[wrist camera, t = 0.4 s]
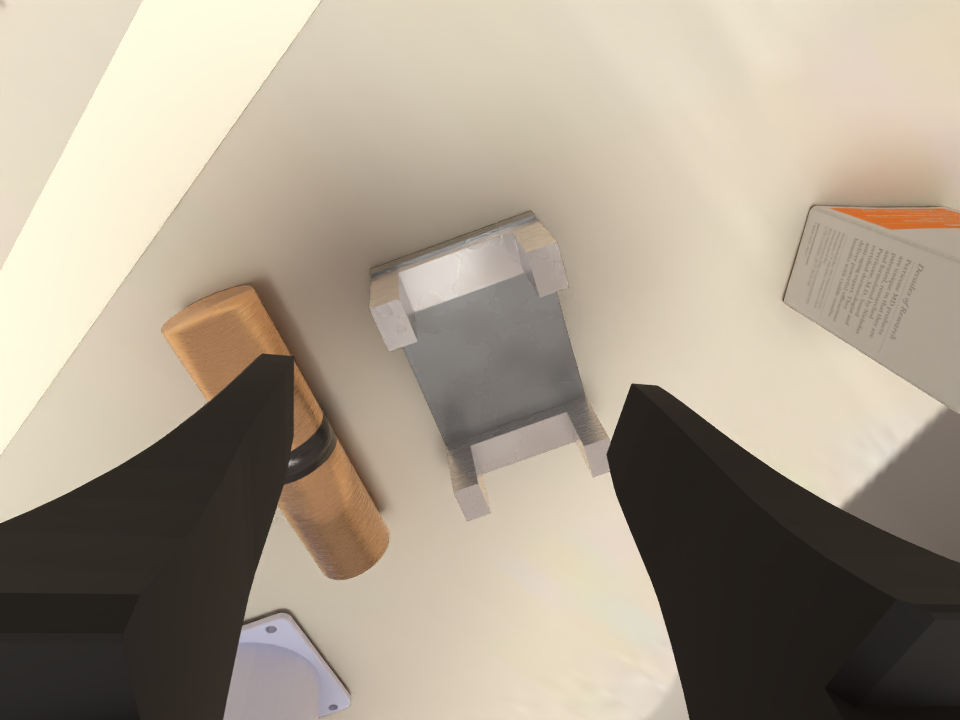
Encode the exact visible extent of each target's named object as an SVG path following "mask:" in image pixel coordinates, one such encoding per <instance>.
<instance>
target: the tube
mask: <svg viewBox="0 0 960 720" xmlns="http://www.w3.org/2000/svg"><path fill="white" fill-rule="evenodd" d="M161 332H162V334H163V335H164V337H165V338H166V340H167V341H168V343H169V344H170V346H171V347H172V349H173V350H174V352H175V353H176V355H177V356H178V358H179V359H180V361H181V362H182V364H183V365H184V367H185V368H186V370H187V371H188V373H189V374H190V376H191V377H192V379H193V380H194V382H195V383H196V385H197V386H198V387H199V389H200V390H201V392H202V393H203V395H204V396H205V398H206V399H207V401H208V402H209V401H210V400H211V399H212V398H214V397H215V396H216V395H217V394H218V393H219V392H221V391H222V390H223V389H224V388H225V387H226V386H227V385H228V384H229V383H230V382H232V381H233V380H234V379H235V378H236V377H237V376H238V375H239V374H240V373H241V372H242V371H243V370H244V369H245V368H246V367H247V366H248V365H249V364H251V363H252V362H253V361H254V360H255V359H256V358H257V357H258V356H260V355H261V354H262V353H263V354H275V355H287V356H291V354H290V352H289V351H288V349H287V347H286V345H285V344H284V342H283V340H282V338H281V336H280V335H279V333H278V331H277V329H276V327H275V326H274V324H273V322H272V320H271V318H270V317H269V315H268V313H267V311H266V309H265V308H264V306H263V304H262V302H261V301H260V299H259V297H258V295H257V293H256V292H255V290H254V288H253V287H252V286H248V285H245V286H237V287H233V288H229V289H226V290H223V291H220V292H217V293H215V294H212V295H210V296H208V297H206V298H203V299H201V300H199V301H197V302H195V303H193V304H192V305H190V306H188V307H186V308H185V309H183V310H182V311H180V312H178V313H177V314H176V315H174V316H173V317H172V318H170V319H169V320H168V321H167V322H166V323H165V324H164V325H163V327H162V329H161ZM278 507H279V508H280V510H281V511H282V513H283V514H284V516H285V517H286V519H287V520H288V522H289V523H290V525H291V526H292V528H293V529H294V531H295V532H296V534H297V535H298V537H299V538H300V539H301V541H302V542H303V544H304V545H305V547H306V548H307V550H308V551H309V553H310V554H311V556H312V557H313V559H314V560H315V562H316V563H317V565H318V566H319V568H320V569H321V571H322V572H323V574H324V575H325V576H327V577H328V578H331V579H335V580H344V579H349V578H353V577H355V576H358V575H360V574H362V573H363V572H365V571H367V570H368V569H370V568H371V567H372V566H373V565H374V564H375V563H376V562H377V561H378V560H379V559H380V558H381V557H382V555H383V554H384V552H385V551H386V549H387V546H388V543H389V530H388V528H387V526H386V525H385V523H384V521H383V519H382V517H381V516H380V514H379V512H378V510H377V508H376V507H375V505H374V503H373V501H372V499H371V498H370V496H369V494H368V492H367V490H366V489H365V487H364V485H363V483H362V481H361V480H360V478H359V476H358V474H357V473H356V471H355V469H354V467H353V465H352V464H351V462H350V460H349V458H348V456H347V455H346V453H345V451H344V449H343V447H342V446H341V444H340V442H339V440H338V438H337V436H336V434H335V432H334V430H333V428H332V427H331V425H330V423H329V421H328V419H327V418H326V416H325V414H324V412H323V411H322V409H321V408H320V406H319V404H318V403H317V401H316V399H315V397H314V395H313V394H312V392H311V390H310V388H309V387H308V385H307V383H306V381H305V379H304V378H303V376H302V374H301V372H300V370H299V369H298V367H297V365H296V363H295V361H294V438H293V443H292V449H291V454H290V460H289V465H288V470H287V475H286V480H285V483H284V486H283V489H282V492H281V495H280V499H279V502H278Z"/></svg>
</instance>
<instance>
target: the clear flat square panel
mask: <svg viewBox="0 0 960 720" xmlns="http://www.w3.org/2000/svg"><path fill="white" fill-rule="evenodd" d="M320 2H321V0H143V1H142V3H141V5H140V7H139V9H138V11H137V13H136V15H135V17H134V18H133V20H132V22H131V24H130V26H129V28H128V30H127V32H126V34H125V36H124V37H123V39H122V41H121V43H120V45H119V47H118V49H117V51H116V53H115V54H114V56H113V58H112V60H111V62H110V64H109V66H108V68H107V70H106V72H105V73H104V75H103V77H102V79H101V81H100V83H99V85H98V87H97V89H96V91H95V92H94V94H93V96H92V98H91V100H90V102H89V104H88V106H87V108H86V110H85V111H84V113H83V115H82V117H81V119H80V121H79V123H78V125H77V127H76V129H75V130H74V132H73V134H72V136H71V138H70V140H69V142H68V144H67V146H66V148H65V149H64V151H63V153H62V155H61V157H60V159H59V161H58V163H57V165H56V167H55V168H54V170H53V172H52V174H51V176H50V178H49V180H48V182H47V184H46V186H45V187H44V189H43V191H42V193H41V195H40V197H39V199H38V201H37V203H36V205H35V206H34V208H33V210H32V212H31V214H30V216H29V218H28V220H27V222H26V224H25V225H24V227H23V229H22V231H21V233H20V235H19V237H18V239H17V241H16V243H15V244H14V246H13V248H12V250H11V252H10V254H9V256H8V258H7V260H6V262H5V263H4V265H3V267H2V269H1V271H0V455H1V453H2V452H3V451H4V449H5V448H6V446H7V445H8V444H9V442H10V441H11V439H12V438H13V436H14V435H15V434H16V432H17V431H18V429H19V428H20V427H21V425H22V424H23V422H24V421H25V419H26V418H27V417H28V415H29V414H30V412H31V411H32V410H33V408H34V407H35V405H36V404H37V402H38V401H39V400H40V398H41V397H42V395H43V394H44V393H45V391H46V390H47V388H48V387H49V386H50V384H51V383H52V381H53V380H54V378H55V377H56V376H57V374H58V373H59V371H60V370H61V369H62V367H63V366H64V364H65V363H66V361H67V360H68V359H69V357H70V356H71V354H72V353H73V352H74V350H75V349H76V347H77V346H78V344H79V343H80V342H81V340H82V339H83V337H84V336H85V335H86V333H87V332H88V330H89V329H90V327H91V326H92V325H93V323H94V322H95V320H96V319H97V318H98V316H99V315H100V313H101V312H102V310H103V309H104V308H105V306H106V305H107V303H108V302H109V301H110V299H111V298H112V296H113V295H114V293H115V292H116V291H117V289H118V288H119V286H120V285H121V284H122V282H123V281H124V279H125V278H126V276H127V275H128V274H129V272H130V271H131V269H132V268H133V267H134V265H135V264H136V262H137V261H138V259H139V258H140V257H141V255H142V254H143V252H144V251H145V250H146V248H147V247H148V245H149V244H150V242H151V241H152V240H153V238H154V237H155V235H156V234H157V233H158V231H159V230H160V228H161V227H162V225H163V224H164V223H165V221H166V220H167V218H168V217H169V216H170V214H171V213H172V211H173V210H174V208H175V207H176V206H177V204H178V203H179V201H180V200H181V199H182V197H183V196H184V194H185V193H186V192H187V190H188V189H189V187H190V186H191V184H192V183H193V182H194V180H195V179H196V177H197V176H198V175H199V173H200V172H201V170H202V169H203V167H204V166H205V165H206V163H207V162H208V160H209V159H210V158H211V156H212V155H213V153H214V152H215V150H216V149H217V148H218V146H219V145H220V143H221V142H222V141H223V139H224V138H225V136H226V135H227V133H228V132H229V131H230V129H231V128H232V126H233V125H234V124H235V122H236V121H237V119H238V118H239V116H240V115H241V114H242V112H243V111H244V109H245V108H246V107H247V105H248V104H249V102H250V101H251V99H252V98H253V97H254V95H255V94H256V92H257V91H258V90H259V88H260V87H261V85H262V84H263V82H264V81H265V80H266V78H267V77H268V75H269V74H270V73H271V71H272V70H273V68H274V67H275V65H276V64H277V63H278V61H279V60H280V58H281V57H282V56H283V54H284V53H285V51H286V50H287V48H288V47H289V46H290V44H291V43H292V41H293V40H294V39H295V37H296V36H297V34H298V33H299V31H300V30H301V29H302V27H303V26H304V24H305V23H306V22H307V20H308V19H309V17H310V16H311V14H312V13H313V12H314V10H315V9H316V7H317V6H318V5H319V3H320Z"/></svg>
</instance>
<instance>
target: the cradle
mask: <svg viewBox="0 0 960 720" xmlns="http://www.w3.org/2000/svg"><path fill="white" fill-rule="evenodd" d="M370 275H371V291H370V307H369V310H370V312H371V314H372V316H373V318H374V321H375V323H376V325H377V327H378V329H379V332H380V334H381V336H382V338H383V340H384V342H385V345H386V347H387V349H388V351H389V352H390V351H393V350H396V349H398V348H401V347H403V349H404V351H405V354H406V356H407V358H408V360H409V363H410V365H411V367H412V369H413V372H414V374H415V376H416V378H417V381H418V383H419V385H420V387H421V390H422V392H423V394H424V396H425V399H426V401H427V403H428V405H429V408H430V410H431V412H432V414H433V417H434V419H435V421H436V424H437V426H438V428H439V430H440V433H441V435H442V437H443V439H444V442H445V444H446V447H447V454H448V460H449V467H450V473H451V480H452V486H453V492H454V495H455V497H456V499H457V501H458V503H459V506H460V508H461V510H462V512H463V514H464V516H465V519H466V521H469V520H472V519H475V518H478V517H481V516H484V515H487V514H489V513H491V511H490V507H489V502H488V498H487V493H486V489H485V485H484V480H483V476H482V474H484V473H487V472H490V471H492V470H495V469H498V468H501V467H504V466H507V465H509V464H512V463H515V462H518V461H521V460H524V459H527V458H529V457H532V456H535V455H538V454H541V453H544V452H547V451H549V450H552V449H555V448H558V447H561V446H564V445H567V444H569V443H572V442H575V441H576V443H577V446H578V448H579V450H580V452H581V454H582V456H583V458H584V460H585V462H586V464H587V466H588V468H589V470H590V472H591V475H592V477H596V476H598V475H601V474H604V473H607V472H610V469H609V464H608V460H607V455H606V454H607V451H608V448H609V446H610V439H609V437H608V435H607V433H606V431H605V430H604V428H603V426H602V424H601V423H600V421H599V419H598V418H597V416H596V414H595V412H594V411H593V409H592V407H591V405H590V404H589V402H588V400H587V398H586V397H585V393H584V390H583V386H582V383H581V379H580V375H579V372H578V368H577V365H576V361H575V357H574V354H573V350H572V347H571V343H570V339H569V336H568V332H567V329H566V325H565V321H564V318H563V314H562V311H561V307H560V303H559V300H558V296H557V293H556V292H557V291H560V290H563V289H566V288H569V285H568V281H567V277H566V273H565V269H564V266H563V262H562V258H561V254H560V251H559V247H558V243H557V241H556V240H555V239H554V238H553V236H552V235H551V234H550V233H549V232H548V231H547V230H546V229H545V227H544V226H543V225H542V224H541V223H540V222H539V221H538V220H537V218H536V217H535V214H534V213H533V212H532V211H529V212H526V213H523V214H520V215H518V216H515V217H512V218H509V219H507V220H504V221H501V222H498V223H496V224H493V225H490V226H487V227H485V228H482V229H479V230H476V231H474V232H471V233H468V234H465V235H462V236H460V237H457V238H454V239H451V240H449V241H446V242H443V243H440V244H438V245H435V246H432V247H429V248H427V249H424V250H421V251H418V252H416V253H413V254H410V255H407V256H405V257H402V258H399V259H396V260H394V261H391V262H388V263H385V264H382V265H380V266H377V267H374V268H371V270H370Z"/></svg>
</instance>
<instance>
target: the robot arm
mask: <svg viewBox="0 0 960 720" xmlns="http://www.w3.org/2000/svg"><path fill="white" fill-rule="evenodd" d="M293 438H294V356H287V355H275V354H263V353H262V354H261V355H260V356H258V357H257V358H256V359H255V360H254V361H253V362H252V363H251V364H249V365H248V366H247V367H246V368H245V369H244V370H243V371H242V372H241V373H240V374H239V375H238V376H237V377H236V378H235V379H234V380H233V381H232V382H230V383H229V384H228V385H227V386H226V387H225V388H224V389H223V390H222V391H221V392H219V393H218V394H217V395H216V396H215V397H214V398H212V399H211V400H210V401H209V402H208V403H207V404H206V405H204V406H203V407H202V408H201V409H200V410H198V411H197V412H196V413H195V414H193V415H192V416H191V417H190V418H188V419H187V420H186V421H184V422H183V423H182V424H180V425H179V426H178V427H177V428H175V429H174V430H173V431H171V432H170V433H169V434H167V435H166V436H165V437H163V438H162V439H160V440H159V441H158V442H156V443H155V444H153V445H152V446H150V447H149V448H147V449H146V450H144V451H142V452H141V453H139V454H138V455H136V456H134V457H133V458H131V459H130V460H128V461H126V462H125V463H123V464H121V465H120V466H118V467H116V468H114V469H112V470H111V471H109V472H107V473H105V474H103V475H101V476H99V477H97V478H96V479H94V480H92V481H90V482H88V483H86V484H84V485H82V486H80V487H79V488H77V489H75V490H73V491H71V492H69V493H67V494H65V495H63V496H61V497H59V498H57V499H55V500H53V501H50V502H48V503H46V504H44V505H42V506H40V507H37V508H35V509H33V510H31V511H28V512H26V513H24V514H21V515H19V516H17V517H14V518H12V519H10V520H7V521H5V522H3V523H0V720H318V718H320V717H323V716H326V715H329V714H332V713H335V712H338V711H341V710H343V709H346V708H348V707H349V706H350V705H351V695H350V694H349V693H348V691H347V690H346V689H345V687H344V686H343V685H342V683H341V682H340V681H339V679H338V678H337V677H336V675H335V674H334V673H333V671H332V670H331V669H330V667H329V666H328V665H327V663H326V662H325V661H324V659H323V658H322V657H321V655H320V654H319V653H318V651H317V650H316V649H315V647H314V646H313V645H312V643H311V642H310V641H309V639H308V638H307V637H306V635H305V634H304V633H303V631H302V630H301V629H300V627H299V626H298V625H297V624H296V622H295V621H294V620H293V618H292V617H291V616H290V615H289V614H286V613H278V614H275V615H272V616H269V617H266V618H263V619H260V620H258V621H255V622H252V623H249V624H246V625H243V620H244V616H245V611H246V606H247V602H248V597H249V593H250V590H251V586H252V583H253V579H254V575H255V572H256V569H257V566H258V563H259V560H260V557H261V554H262V551H263V548H264V545H265V542H266V538H267V535H268V532H269V529H270V526H271V523H272V520H273V517H274V514H275V511H276V508H277V505H278V502H279V499H280V495H281V492H282V489H283V486H284V483H285V480H286V475H287V470H288V465H289V460H290V454H291V449H292V443H293ZM606 455H607V460H608V464H609V469H610V473H611V477H612V481H613V485H614V489H615V492H616V496H617V498H618V501H619V503H620V506H621V508H622V511H623V513H624V516H625V518H626V521H627V523H628V526H629V528H630V531H631V533H632V536H633V538H634V540H635V543H636V545H637V548H638V550H639V552H640V555H641V557H642V560H643V562H644V565H645V567H646V569H647V572H648V574H649V577H650V579H651V582H652V584H653V587H654V590H655V593H656V595H657V598H658V601H659V604H660V608H661V611H662V614H663V618H664V621H665V625H666V628H667V632H668V635H669V638H670V642H671V645H672V649H673V653H674V657H675V661H676V665H677V669H678V673H679V676H680V680H681V684H682V688H683V692H684V696H685V701H686V705H687V710H688V714H689V719H690V720H960V563H959V562H956V561H953V560H950V559H948V558H945V557H943V556H940V555H938V554H936V553H933V552H931V551H929V550H926V549H924V548H922V547H919V546H917V545H915V544H912V543H910V542H908V541H905V540H903V539H901V538H898V537H896V536H894V535H892V534H890V533H888V532H886V531H883V530H881V529H879V528H877V527H875V526H873V525H871V524H869V523H867V522H865V521H863V520H861V519H859V518H857V517H855V516H853V515H851V514H849V513H847V512H845V511H843V510H841V509H840V508H838V507H836V506H834V505H832V504H830V503H828V502H827V501H825V500H823V499H821V498H820V497H818V496H816V495H815V494H813V493H811V492H809V491H808V490H806V489H804V488H803V487H801V486H799V485H798V484H796V483H794V482H793V481H791V480H789V479H788V478H786V477H785V476H783V475H781V474H780V473H778V472H777V471H775V470H774V469H772V468H771V467H769V466H768V465H766V464H765V463H764V462H762V461H761V460H759V459H758V458H756V457H755V456H753V455H752V454H750V453H749V452H748V451H746V450H745V449H743V448H742V447H741V446H739V445H738V444H737V443H735V442H734V441H732V440H731V439H730V438H728V437H727V436H726V435H724V434H723V433H722V432H720V431H719V430H718V429H716V428H715V427H714V426H712V425H711V424H710V423H709V422H707V421H706V420H705V419H703V418H702V417H701V416H699V415H698V414H697V413H695V412H694V411H693V410H692V409H690V408H689V407H688V406H686V405H685V404H684V403H682V402H681V401H679V400H678V399H677V398H675V397H674V396H673V395H671V394H670V393H668V392H667V391H665V390H664V389H662V388H660V387H659V386H656V385H643V384H631V387H630V390H629V392H628V395H627V398H626V401H625V404H624V406H623V409H622V412H621V415H620V418H619V420H618V423H617V426H616V429H615V432H614V434H613V437H612V440H611V443H610V446H609V448H608V451H607V454H606ZM242 625H243V626H242Z"/></svg>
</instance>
